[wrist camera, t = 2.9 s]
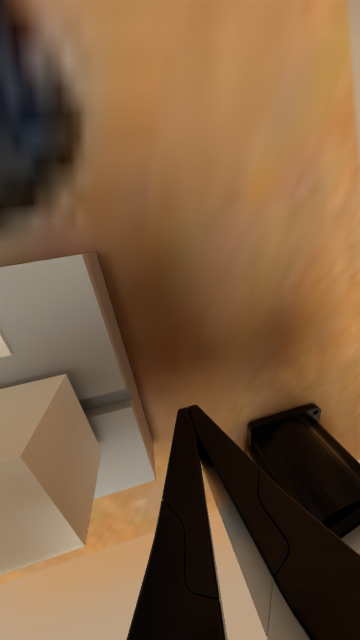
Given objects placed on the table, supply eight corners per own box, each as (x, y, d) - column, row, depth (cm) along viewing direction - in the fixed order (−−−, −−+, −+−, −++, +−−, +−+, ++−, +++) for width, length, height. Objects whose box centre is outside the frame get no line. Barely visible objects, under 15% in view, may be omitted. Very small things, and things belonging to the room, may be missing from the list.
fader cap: (72, 363, 9) (20, 456, 5) (104, 437, 11) (85, 546, 7) (-24, 385, 8) (-166, 507, 5) (27, 458, 10) (-40, 589, 6)
